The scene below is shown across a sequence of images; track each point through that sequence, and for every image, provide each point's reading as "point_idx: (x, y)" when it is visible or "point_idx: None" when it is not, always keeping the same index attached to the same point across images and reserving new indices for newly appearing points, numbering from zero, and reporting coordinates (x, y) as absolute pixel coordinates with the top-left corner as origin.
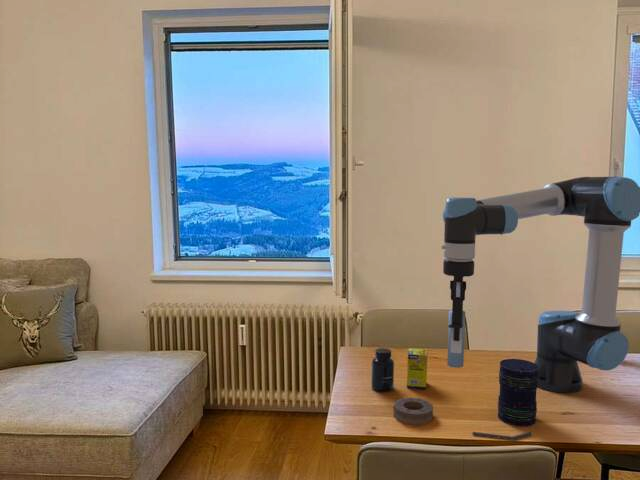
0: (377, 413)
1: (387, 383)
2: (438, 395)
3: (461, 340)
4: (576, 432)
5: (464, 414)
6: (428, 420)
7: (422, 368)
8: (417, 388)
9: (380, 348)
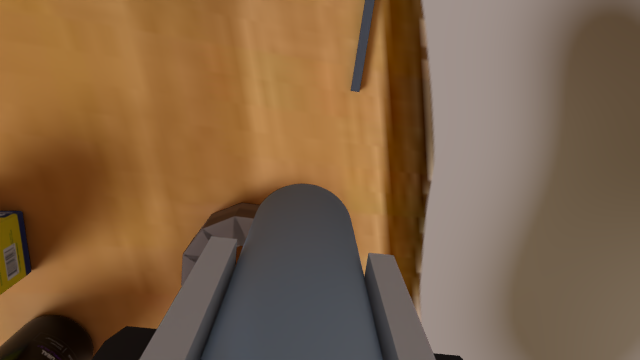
0: None
1: (71, 350)
2: (62, 170)
3: (423, 330)
4: None
5: (206, 96)
6: None
7: None
8: (26, 239)
9: None
